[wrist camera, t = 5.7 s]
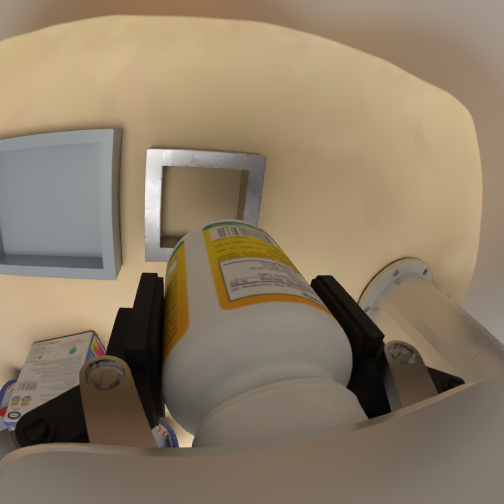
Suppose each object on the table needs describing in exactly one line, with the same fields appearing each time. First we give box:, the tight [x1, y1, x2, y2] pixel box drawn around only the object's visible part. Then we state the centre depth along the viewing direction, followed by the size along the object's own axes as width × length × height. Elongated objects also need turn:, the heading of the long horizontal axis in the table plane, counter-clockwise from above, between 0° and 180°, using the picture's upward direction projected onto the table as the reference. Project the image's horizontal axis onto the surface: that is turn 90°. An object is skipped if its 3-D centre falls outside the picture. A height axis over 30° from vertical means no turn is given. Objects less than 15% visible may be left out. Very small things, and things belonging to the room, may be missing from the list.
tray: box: [0, 129, 122, 280], centre depth 19 cm, size 14×12×3 cm
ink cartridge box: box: [3, 332, 106, 431], centre depth 21 cm, size 10×6×14 cm, turn 100°
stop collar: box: [145, 147, 266, 262], centre depth 23 cm, size 9×9×2 cm
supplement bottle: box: [161, 219, 369, 447], centre depth 9 cm, size 5×5×10 cm
